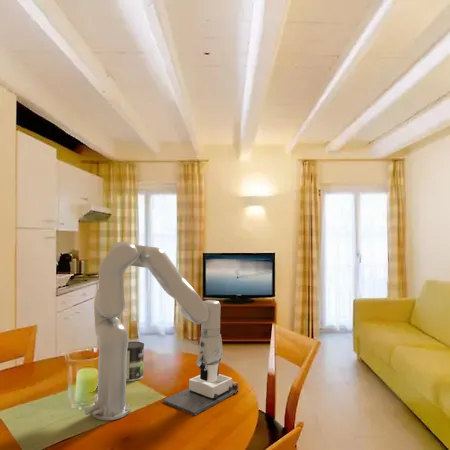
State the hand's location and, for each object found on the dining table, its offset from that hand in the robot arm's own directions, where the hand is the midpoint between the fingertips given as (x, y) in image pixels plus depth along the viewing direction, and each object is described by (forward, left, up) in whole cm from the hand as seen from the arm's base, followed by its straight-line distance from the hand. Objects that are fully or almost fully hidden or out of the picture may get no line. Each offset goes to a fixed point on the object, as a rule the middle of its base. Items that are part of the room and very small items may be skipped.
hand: (209, 376), depth 150 cm
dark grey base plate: (-4, 0, -6) cm, 8 cm away
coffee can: (-9, +37, -7) cm, 39 cm away
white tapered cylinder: (0, 0, -1) cm, 1 cm away
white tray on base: (+1, 0, -5) cm, 5 cm away
